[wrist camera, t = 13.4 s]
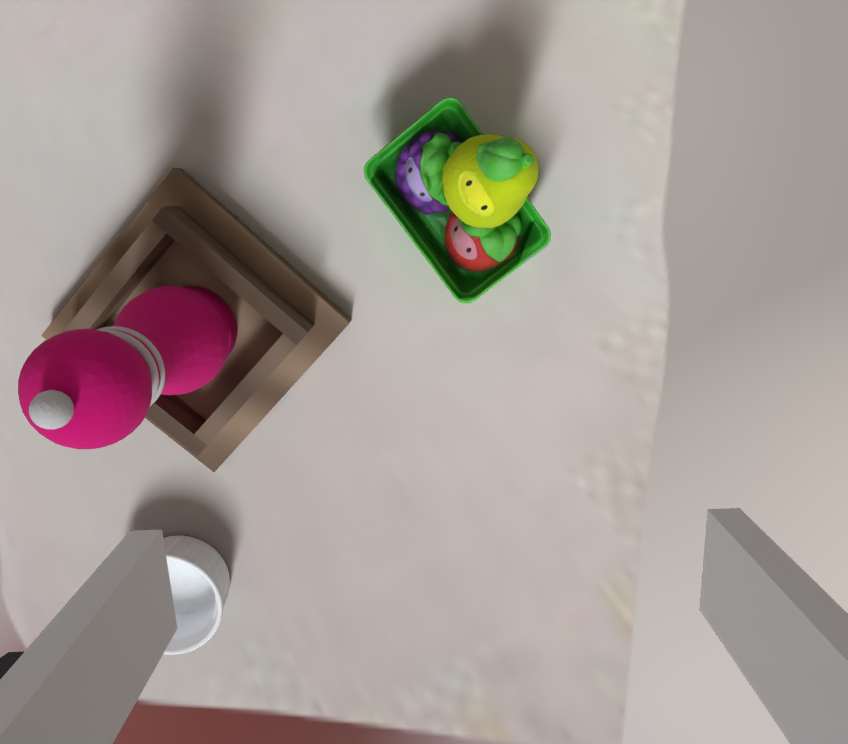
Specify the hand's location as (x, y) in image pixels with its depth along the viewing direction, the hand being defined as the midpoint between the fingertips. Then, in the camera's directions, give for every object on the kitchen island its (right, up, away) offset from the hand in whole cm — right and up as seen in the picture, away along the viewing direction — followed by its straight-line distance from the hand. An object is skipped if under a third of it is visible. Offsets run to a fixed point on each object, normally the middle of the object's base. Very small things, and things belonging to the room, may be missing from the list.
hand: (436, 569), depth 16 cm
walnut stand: (-17, +8, +34) cm, 39 cm away
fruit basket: (+2, +17, +32) cm, 36 cm away
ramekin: (-20, -12, +40) cm, 46 cm away
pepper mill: (-17, +8, +32) cm, 37 cm away
